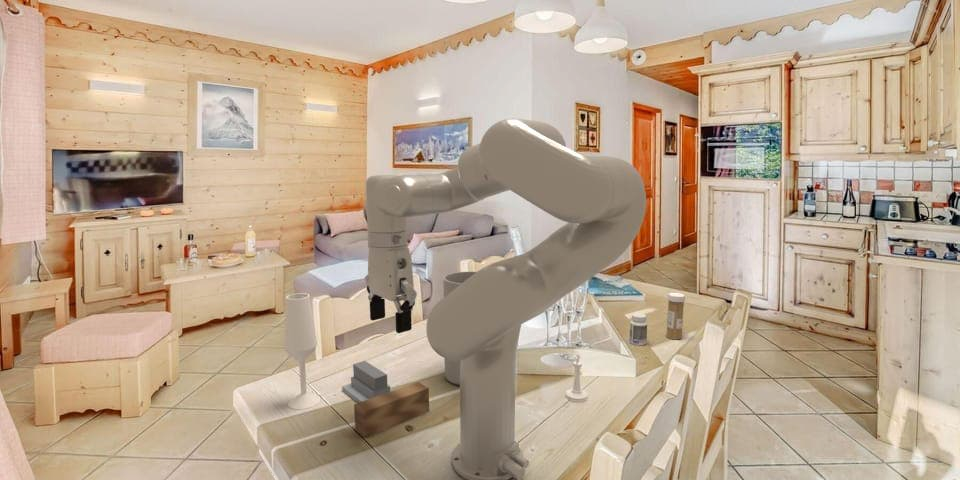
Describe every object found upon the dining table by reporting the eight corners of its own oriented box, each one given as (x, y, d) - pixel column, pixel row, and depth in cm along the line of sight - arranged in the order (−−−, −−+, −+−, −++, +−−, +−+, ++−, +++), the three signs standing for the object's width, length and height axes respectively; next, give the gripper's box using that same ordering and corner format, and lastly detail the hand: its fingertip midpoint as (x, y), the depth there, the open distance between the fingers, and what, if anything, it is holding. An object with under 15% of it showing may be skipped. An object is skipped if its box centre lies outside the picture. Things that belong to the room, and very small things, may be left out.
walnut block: (418, 405, 104) (418, 381, 103) (429, 412, 101) (428, 388, 101) (355, 430, 95) (354, 404, 94) (364, 438, 92) (363, 412, 91)
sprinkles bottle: (683, 340, 142) (686, 296, 139) (667, 339, 142) (670, 295, 140) (679, 335, 146) (682, 292, 144) (664, 334, 147) (666, 291, 145)
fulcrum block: (399, 397, 107) (399, 372, 106) (367, 410, 102) (366, 383, 101) (373, 380, 116) (372, 356, 115) (342, 390, 111) (341, 365, 110)
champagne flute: (325, 394, 109) (319, 292, 105) (312, 409, 102) (305, 301, 98) (297, 393, 109) (290, 291, 105) (282, 408, 103) (274, 300, 99)
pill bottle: (649, 343, 139) (651, 315, 138) (638, 346, 137) (640, 318, 135) (636, 338, 143) (638, 311, 142) (625, 341, 141) (627, 314, 139)
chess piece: (590, 395, 108) (592, 353, 107) (582, 404, 104) (584, 360, 103) (570, 389, 111) (571, 348, 109) (561, 398, 107) (562, 355, 105)
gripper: (430, 243, 88) (431, 332, 91) (381, 232, 101) (384, 311, 104) (394, 248, 83) (397, 341, 86) (348, 236, 96) (352, 318, 99)
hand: (390, 324), depth 95 cm, fingers open, 9 cm apart
